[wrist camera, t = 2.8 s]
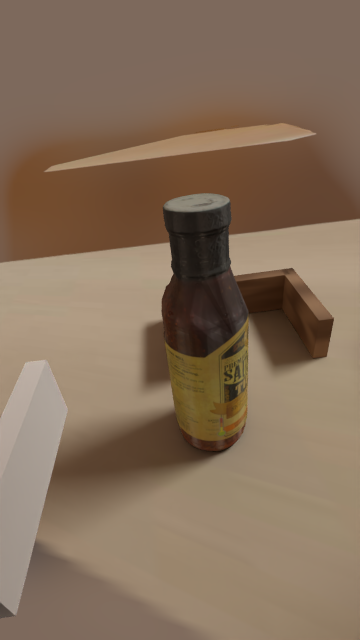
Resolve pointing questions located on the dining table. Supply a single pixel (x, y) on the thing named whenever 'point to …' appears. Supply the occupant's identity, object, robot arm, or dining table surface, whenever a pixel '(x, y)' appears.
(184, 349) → the sauce bottle
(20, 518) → the robot arm
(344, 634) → the dining table surface
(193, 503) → the dining table surface
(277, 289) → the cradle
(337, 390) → the dining table surface
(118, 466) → the dining table surface
